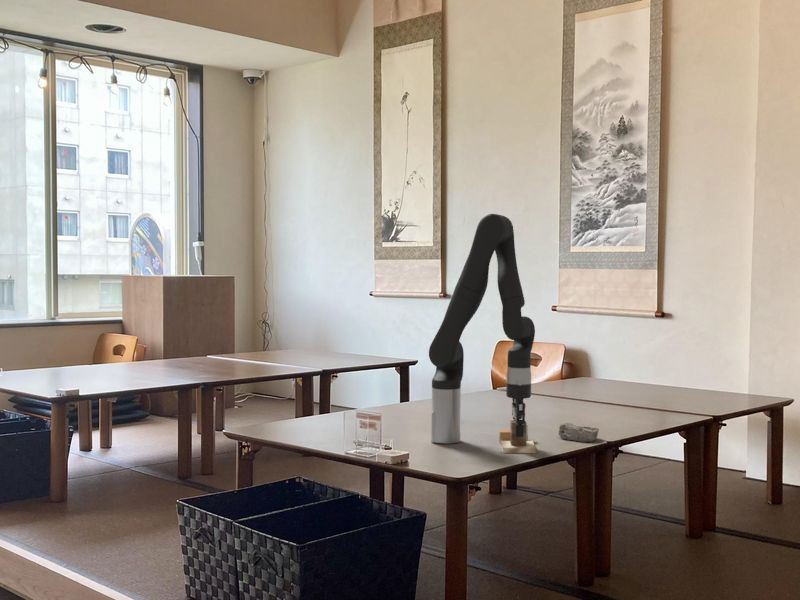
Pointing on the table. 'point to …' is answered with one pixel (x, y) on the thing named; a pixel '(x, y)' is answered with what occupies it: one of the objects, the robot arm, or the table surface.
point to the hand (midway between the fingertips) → (518, 434)
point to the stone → (577, 432)
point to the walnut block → (513, 439)
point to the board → (518, 447)
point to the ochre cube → (504, 435)
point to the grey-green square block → (527, 434)
